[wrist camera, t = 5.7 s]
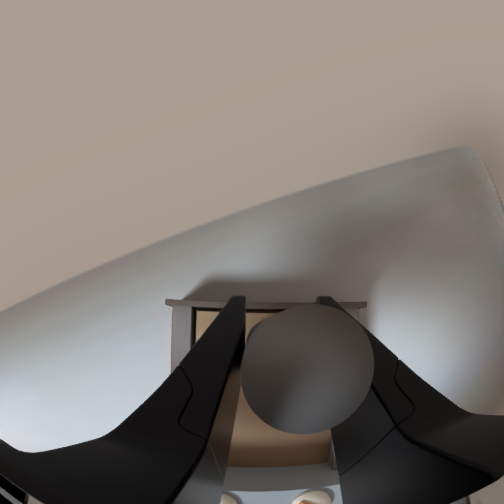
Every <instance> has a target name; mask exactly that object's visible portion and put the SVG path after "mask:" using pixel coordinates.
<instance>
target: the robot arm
mask: <svg viewBox="0 0 504 504" xmlns="http://www.w3.org/2000/svg"><path fill="white" fill-rule="evenodd" d="M315 304H319V305H326V306H330V307H333V308H336V309H339V310H341V311H343V312H345V313H346V314H348V315H349V316H351V317H352V318H353V319H354V320H355V321H356V322H358V321H357V320H356V319H355V318H354V317H353V316H352V315H350V314H349V313H348V312H347V311H346V310H345V309H344V308H343V307H341V306H340V305H339V304H338V303H337V302H336V301H335V300H334V299H332V298H331V297H330V296H319V297H317V299H316V303H315ZM358 324H359V325H360V326H361V327H362V328H363V330H364V331H365V333H366V335H367V336H368V339H369V341H370V343H371V346H372V350H373V356H374V373H373V379H372V383H371V386H370V388H369V391H368V393H367V395H366V397H365V399H364V400H363V402H362V403H361V405H360V406H359V407H358V408H357V410H356V411H355V412H354V413H353V414H352V415H351V416H350V417H348V418H347V419H346V420H344V421H343V422H342V423H340V424H338V425H337V426H335V427H333V428H330V431H331V436H332V441H333V447H334V452H335V458H336V464H337V470H338V475H339V483H340V489H341V496H342V502H343V504H504V416H503V415H483V414H474V413H470V412H467V411H465V410H463V409H461V408H460V407H458V406H457V405H455V404H454V403H453V402H451V401H450V400H449V399H447V398H446V397H445V396H444V395H442V394H441V393H440V392H438V391H437V390H436V389H434V388H433V387H432V386H430V385H429V384H428V383H427V382H425V381H424V380H423V379H422V378H420V377H419V376H418V375H417V374H416V373H414V372H413V371H412V370H411V369H410V368H409V367H408V366H407V365H406V364H404V363H403V362H402V361H401V360H398V357H397V356H396V355H395V354H393V353H392V352H391V351H390V350H389V349H388V348H387V347H386V346H385V345H384V344H383V343H381V342H380V341H379V340H378V339H377V338H376V337H375V336H374V335H373V334H372V333H370V332H369V331H368V330H367V329H366V328H365V327H364V326H363V325H362V324H360V323H359V322H358ZM245 335H246V297H245V296H236V295H234V296H232V297H231V298H230V300H229V301H228V302H227V304H226V305H225V306H224V307H223V309H222V310H221V311H220V313H219V314H218V315H217V316H216V318H215V319H214V320H213V321H212V323H211V324H210V325H209V327H208V328H207V329H206V330H205V332H204V333H203V334H202V335H201V337H200V338H199V339H198V340H197V342H196V343H195V344H194V346H193V347H192V348H191V349H190V351H189V352H188V353H187V354H186V356H185V357H184V358H183V359H182V361H181V362H180V363H179V365H178V366H177V367H176V368H175V369H174V371H173V372H172V373H171V374H170V375H169V377H168V378H167V379H166V380H165V381H164V382H163V384H162V385H161V386H160V387H159V388H158V389H157V390H156V391H155V392H154V393H153V394H152V395H151V396H150V397H149V398H148V399H147V400H146V401H145V402H144V403H143V404H142V405H140V406H139V407H138V408H137V409H136V410H135V411H134V412H133V413H132V414H131V415H130V416H129V417H128V418H126V419H125V420H124V421H123V422H122V423H121V424H120V425H119V426H118V427H116V428H115V429H114V430H112V431H111V432H110V433H108V434H106V435H104V436H102V437H100V438H97V439H94V440H90V441H87V442H83V443H79V444H75V445H71V446H67V447H63V448H58V449H54V450H49V451H44V452H36V453H29V452H23V451H19V450H17V449H15V448H13V447H12V446H10V445H9V444H7V443H6V442H5V441H3V440H1V439H0V504H220V501H221V495H222V490H223V484H224V479H225V473H226V468H227V462H228V457H229V451H230V446H231V440H232V434H233V429H234V423H235V417H236V411H237V406H238V400H239V394H240V388H241V374H240V373H241V363H242V359H243V354H244V349H245Z"/></svg>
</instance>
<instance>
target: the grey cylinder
mask: <svg viewBox="0 0 504 504" xmlns="http://www.w3.org/2000/svg"><path fill="white" fill-rule="evenodd" d="M219 313H220V312H208V311H197V322H196V342H197V340H198V339H199V338H200V337H201V335H202V334H203V333H204V332H205V330H206V329H207V328H208V327H209V325H210V324H211V323H212V321H213V320H214V319H215V318H216V316H217V315H218V314H219ZM373 373H374V356H373V350H372V346H371V343H370V341H369V339H368V336H367V335H366V333H365V331H364V330H363V328H362V327H361V326H360V325H359V324H358V322H356V321H355V320H354V319H353V318H352V317H351V316H349V315H348V314H346V313H345V312H343V311H341V310H339V309H336V308H333V307H330V306H326V305H319V304H307V305H300V306H295V307H292V308H289V309H286V310H284V311H282V312H280V313H246V335H245V349H244V354H243V359H242V363H241V373H240V374H241V385H242V390H243V393H244V396H245V399H246V401H247V403H248V404H249V406H250V408H251V409H252V410H253V412H254V413H255V414H256V415H257V416H258V417H259V418H260V419H261V420H262V421H263V422H265V423H266V424H268V425H269V426H271V427H273V428H275V429H277V430H280V431H283V432H287V433H291V434H313V433H318V432H322V431H325V430H328V429H330V428H333V427H335V426H337V425H338V424H340V423H342V422H343V421H344V420H346V419H347V418H348V417H350V416H351V415H352V414H353V413H354V412H355V411H356V410H357V408H358V407H359V406H360V405H361V403H362V402H363V400H364V399H365V397H366V395H367V393H368V391H369V388H370V386H371V383H372V379H373Z"/></svg>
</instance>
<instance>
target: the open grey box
mask: <svg viewBox="0 0 504 504" xmlns="http://www.w3.org/2000/svg"><path fill="white" fill-rule="evenodd" d="M226 304H227V302H214V301H191V300H173V299H166V301H165V305H168V306H172V307H173V311H172V336H171V373H172V372H173V371H174V369H175V368H176V367H177V366H178V365H179V363H180V362H181V361H182V359H183V358H184V357H185V356H186V354H187V353H188V352H189V351H190V349H191V348H192V347H193V346H194V344H195V343H196V322H197V311H208V312H220V311H221V310H222V309H223V307H224V306H225V305H226ZM307 304H315V303H246V313H280V312H282V311H284V310H286V309H289V308H292V307H295V306H300V305H307ZM338 304H339V305H340V306H341V307H343V308H344V309H345V310H346V311H347V312H348V313H349V314H350V315H352V316H353V317H354V318H355V319H356V320H357V321H358V322H359V309H360V308H364V307H367V302H339V303H338ZM321 463H328V464H329V466H330V467H331V469H332V470H337V464H336V458H335V452H334V447H333V441H332V436H331V431H330V429H328V430H325V431H322V432H318V433H313V434H291V433H287V432H283V431H280V430H277V429H275V428H273V427H271V426H269V425H268V424H266V423H265V422H263V421H262V420H261V419H260V418H259V417H258V416H257V415H256V414H255V413H254V412H253V410H252V409H251V408H250V406H249V404H248V403H247V401H246V399H245V396H244V393H243V390H242V385H241V388H240V394H239V400H238V406H237V411H236V417H235V423H234V429H233V434H232V440H231V446H230V451H229V457H228V462H227V467H289V466H302V465H312V464H321Z"/></svg>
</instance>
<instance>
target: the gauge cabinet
mask: <svg viewBox="0 0 504 504" xmlns="http://www.w3.org/2000/svg"><path fill="white" fill-rule="evenodd" d="M220 504H343V502H342V496H341V489H340V483H339V475H338V470H332V469H331V467H330V466H329V464H328V463H321V464H312V465H302V466H289V467H227V468H226V473H225V479H224V484H223V490H222V495H221V501H220Z"/></svg>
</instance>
